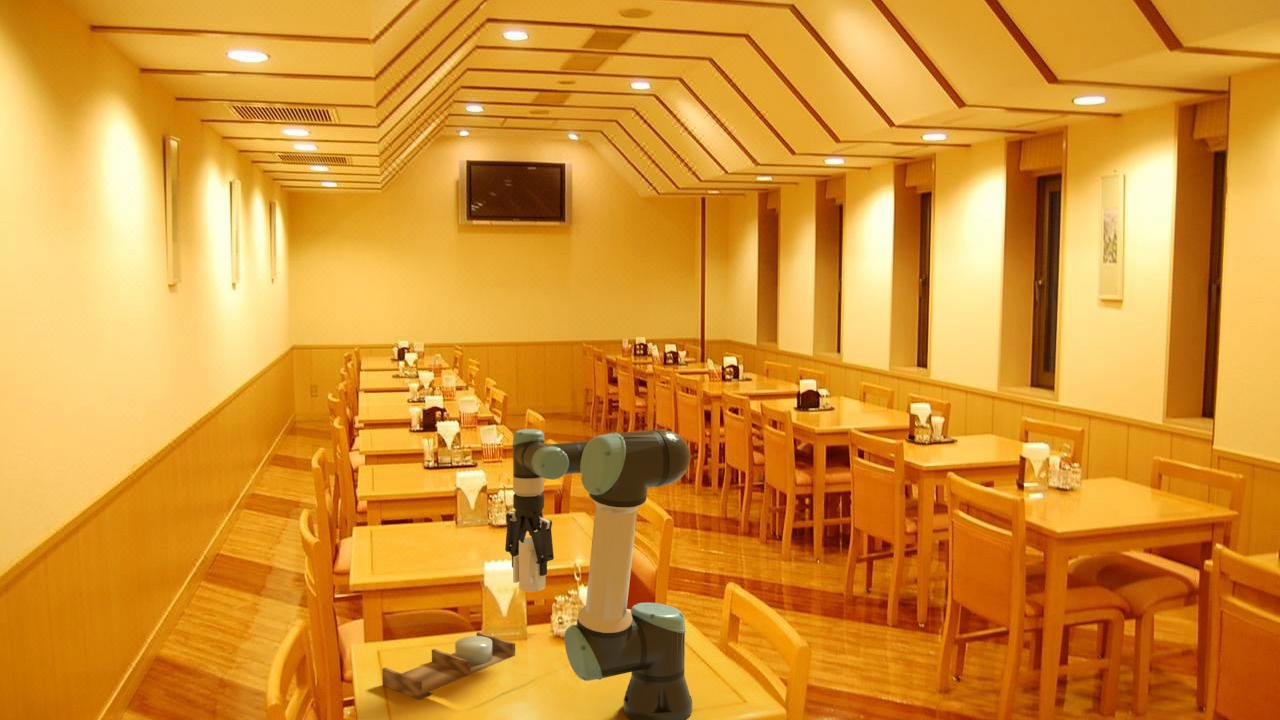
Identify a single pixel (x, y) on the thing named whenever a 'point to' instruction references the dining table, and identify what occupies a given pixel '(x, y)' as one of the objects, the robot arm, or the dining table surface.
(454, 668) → the rack
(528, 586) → the mug
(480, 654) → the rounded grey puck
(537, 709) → the dining table surface
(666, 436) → the robot arm
